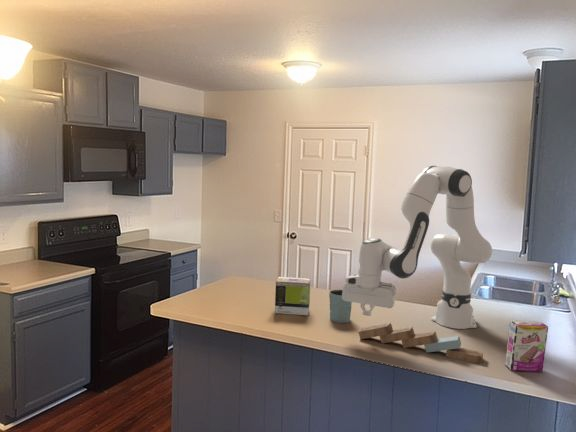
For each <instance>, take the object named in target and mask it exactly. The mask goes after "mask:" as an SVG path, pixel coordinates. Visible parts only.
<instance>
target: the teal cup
mask: <svg viewBox="0 0 576 432" xmlns="http://www.w3.org/2000/svg"><path fill="white" fill-rule="evenodd" d="M342 292H343V289H333V290H332V289H331V290H330V291H329V293H328V294H329V319H330V321H331V322H334V323H340V324H345V323H349V322H350V321H351V313H352V303H353V302H349V301H344V300H343V299H342Z"/></svg>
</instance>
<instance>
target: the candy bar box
mask: <svg viewBox="0 0 576 432" xmlns="http://www.w3.org/2000/svg"><path fill="white" fill-rule="evenodd" d="M509 321H510V322H509V328H508V338H507V346H506V352H505V353H506V354H505V363H504V366H505V367H506V368H508V370H510V371H511V372H527V373H528V372H530V373H542V372H543V370H544V363H545V362H544V361H545V354H546V345H547V339H548V331H549V326H548V325H547V324H544V323H543V322H542V321H527V320H524V321H523V320H509Z"/></svg>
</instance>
